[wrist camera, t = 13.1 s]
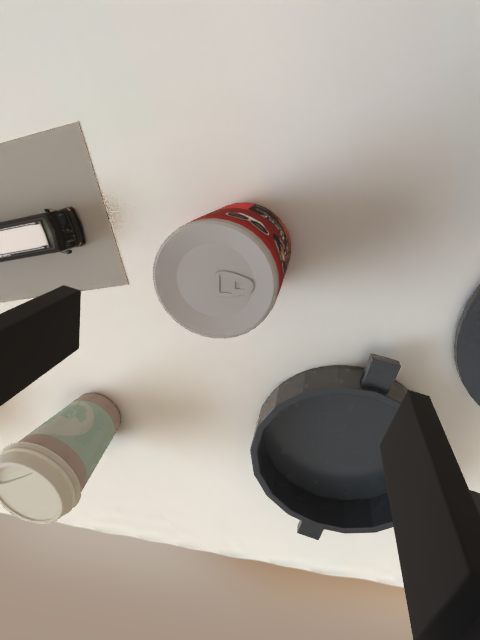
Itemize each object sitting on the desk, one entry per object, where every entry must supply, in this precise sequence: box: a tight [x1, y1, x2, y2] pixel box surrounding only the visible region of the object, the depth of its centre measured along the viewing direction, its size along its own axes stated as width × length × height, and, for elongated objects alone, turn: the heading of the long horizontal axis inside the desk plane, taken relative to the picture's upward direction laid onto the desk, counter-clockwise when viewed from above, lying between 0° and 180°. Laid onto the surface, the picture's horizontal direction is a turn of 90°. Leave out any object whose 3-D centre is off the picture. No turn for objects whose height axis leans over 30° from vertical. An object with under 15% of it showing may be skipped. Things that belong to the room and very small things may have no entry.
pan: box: [250, 354, 408, 540], centre depth 37 cm, size 17×23×4 cm
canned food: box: [153, 203, 291, 338], centre depth 28 cm, size 8×8×11 cm
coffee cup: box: [0, 393, 121, 524], centre depth 38 cm, size 8×8×12 cm
